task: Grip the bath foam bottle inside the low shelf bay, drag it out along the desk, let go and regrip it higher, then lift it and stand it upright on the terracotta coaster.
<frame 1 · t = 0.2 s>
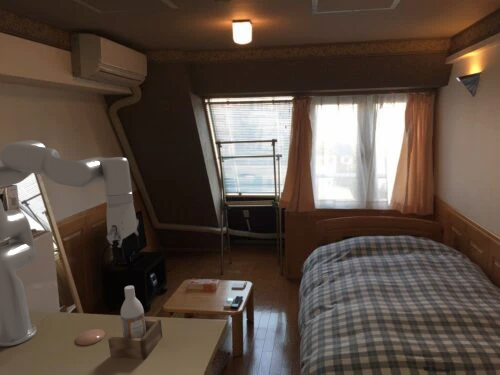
hand: (127, 253, 127), 31 cm above the table, tool pointing down, fingers open, 9 cm apart
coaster: (90, 337, 138), on the table
shelf bay: (136, 346, 132), on the table
bath foam: (136, 346, 132), on the table
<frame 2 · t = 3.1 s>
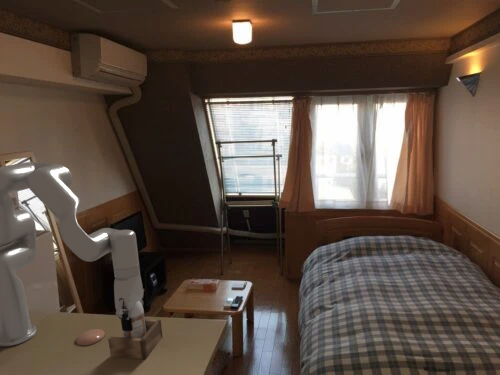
hand: (133, 323, 130), 8 cm above the table, tool pointing down, fingers closed on bath foam, 7 cm apart
bath foam: (136, 346, 132), on the table, touching gripper
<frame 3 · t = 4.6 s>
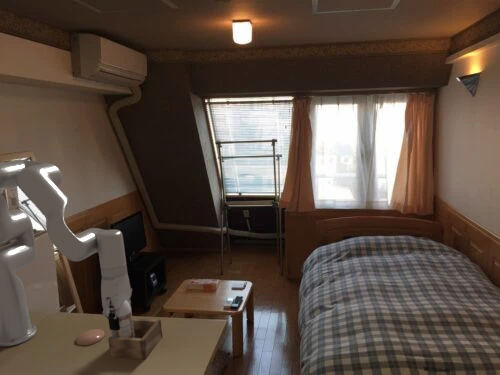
hand: (121, 322, 131), 8 cm above the table, tool pointing down, fingers closed on bath foam, 7 cm apart
bath foam: (124, 345, 133), on the table, touching gripper
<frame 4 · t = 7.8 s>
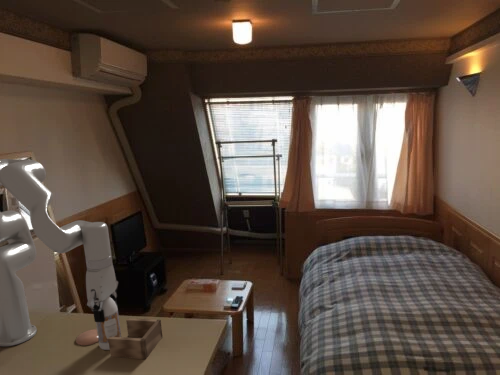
hand: (106, 315, 132), 10 cm above the table, tool pointing down, fingers closed on bath foam, 7 cm apart
bath foam: (110, 345, 134), on the table, touching gripper
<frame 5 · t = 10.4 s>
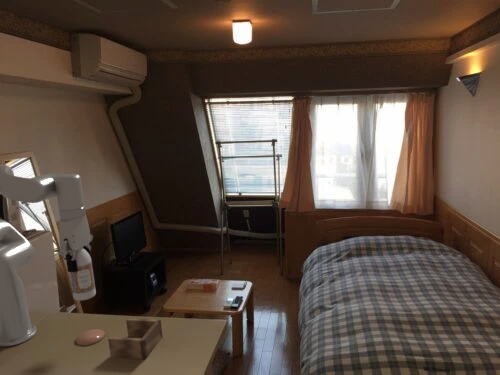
hand: (80, 266, 134), 25 cm above the table, tool pointing down, fingers closed on bath foam, 7 cm apart
bath foam: (85, 296, 136), point 15 cm above the table, touching gripper
when the fingers open (12 cm above the table, at t = 13.3 s): bath foam stays where it is, resting on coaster.
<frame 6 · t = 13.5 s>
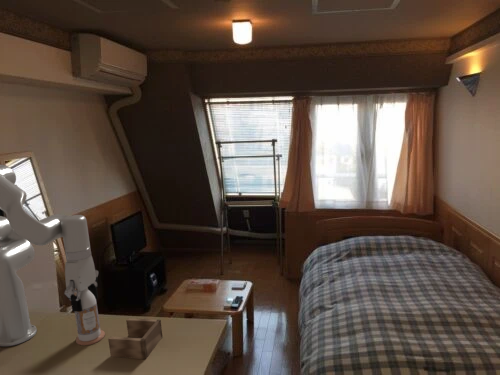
hand: (85, 304, 136), 12 cm above the table, tool pointing down, fingers open, 8 cm apart
bath foam: (90, 337, 138), resting on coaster
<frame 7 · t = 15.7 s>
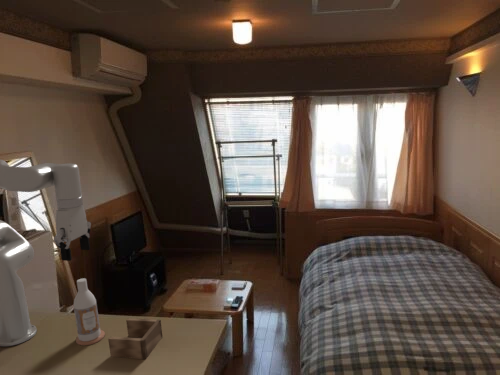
hand: (76, 254, 134), 29 cm above the table, tool pointing down, fingers open, 9 cm apart
nothing on the table moved.
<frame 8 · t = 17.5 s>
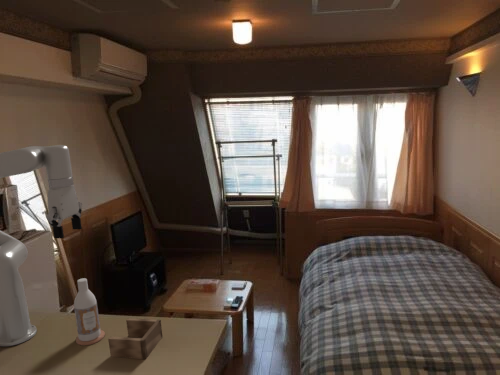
hand: (68, 233, 139), 34 cm above the table, tool pointing down, fingers open, 9 cm apart
nothing on the table moved.
at the end: bath foam 0.2 cm off-centre on the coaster, point 0.4 cm above the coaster's base; bath foam tilted 0°; the gripper is holding nothing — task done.
